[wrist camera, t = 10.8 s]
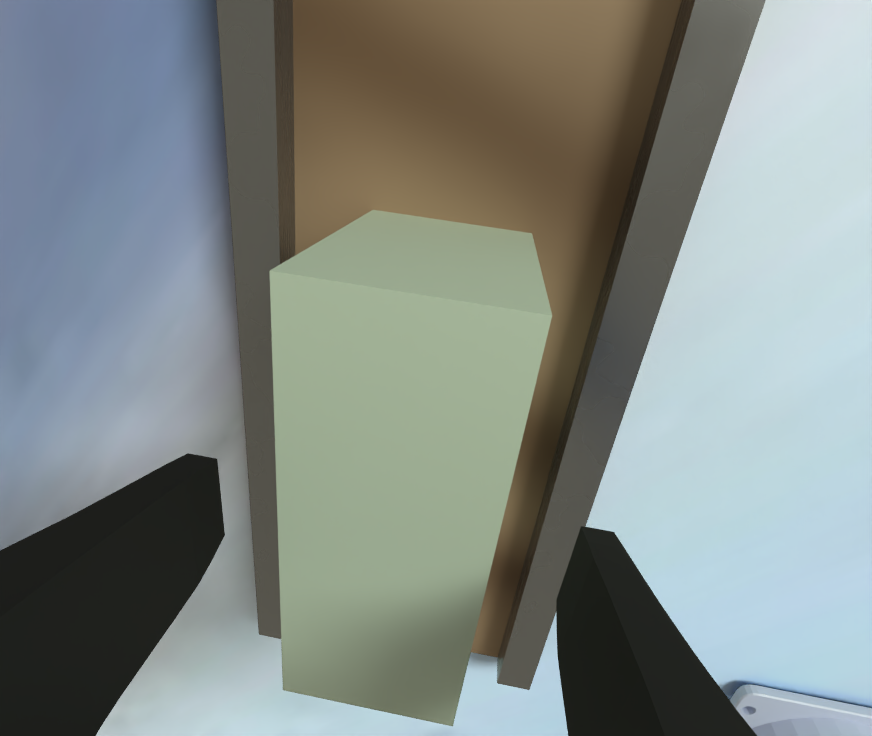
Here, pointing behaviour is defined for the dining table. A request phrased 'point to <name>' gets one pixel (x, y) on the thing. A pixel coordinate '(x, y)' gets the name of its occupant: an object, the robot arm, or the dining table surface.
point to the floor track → (483, 210)
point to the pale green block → (397, 449)
